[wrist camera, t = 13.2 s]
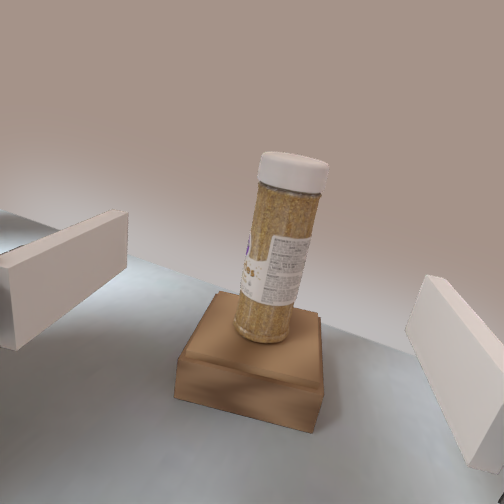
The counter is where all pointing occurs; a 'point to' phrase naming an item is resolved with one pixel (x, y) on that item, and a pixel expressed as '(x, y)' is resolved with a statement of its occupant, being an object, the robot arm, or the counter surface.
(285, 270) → the sprinkles bottle
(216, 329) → the walnut base
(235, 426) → the counter surface
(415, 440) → the counter surface
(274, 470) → the counter surface
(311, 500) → the counter surface
